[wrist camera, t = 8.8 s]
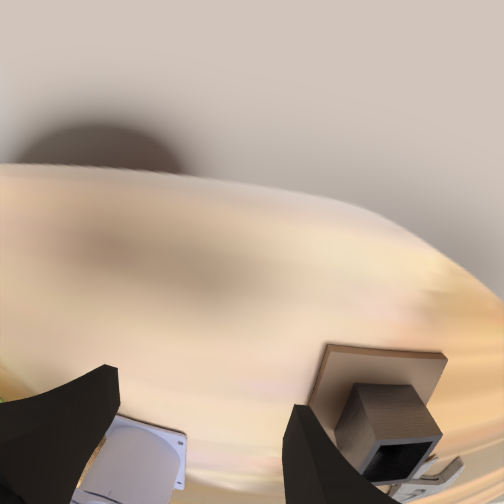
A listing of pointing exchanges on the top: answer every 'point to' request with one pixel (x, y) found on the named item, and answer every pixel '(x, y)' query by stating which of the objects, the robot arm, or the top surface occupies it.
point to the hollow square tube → (386, 432)
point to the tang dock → (369, 377)
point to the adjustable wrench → (426, 482)
